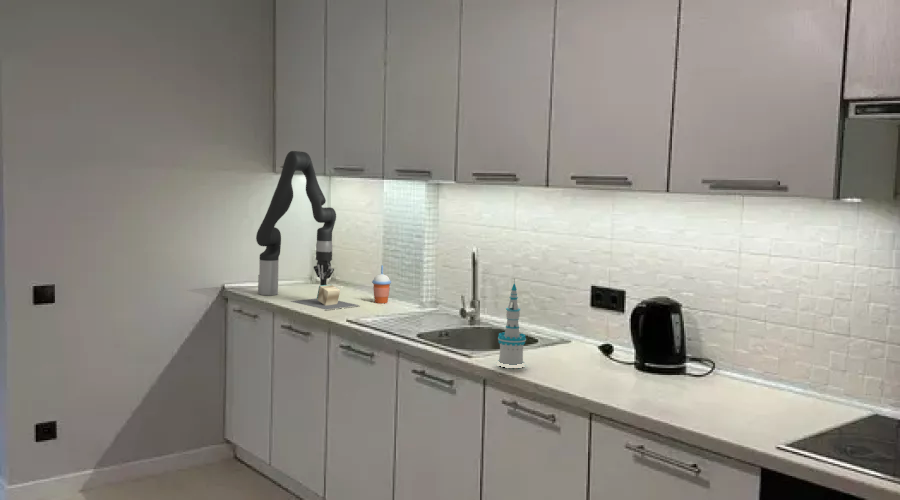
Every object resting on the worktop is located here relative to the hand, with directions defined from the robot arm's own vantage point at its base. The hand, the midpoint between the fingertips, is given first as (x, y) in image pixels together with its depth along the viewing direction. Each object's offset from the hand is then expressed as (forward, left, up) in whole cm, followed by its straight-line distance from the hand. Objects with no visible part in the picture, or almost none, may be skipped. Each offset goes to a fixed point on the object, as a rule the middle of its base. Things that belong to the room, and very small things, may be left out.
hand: (323, 287), depth 403 cm
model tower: (+135, -25, -8) cm, 137 cm away
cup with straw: (+12, +26, -8) cm, 30 cm away
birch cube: (+1, 0, -2) cm, 2 cm away
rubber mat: (+1, 0, -8) cm, 8 cm away
